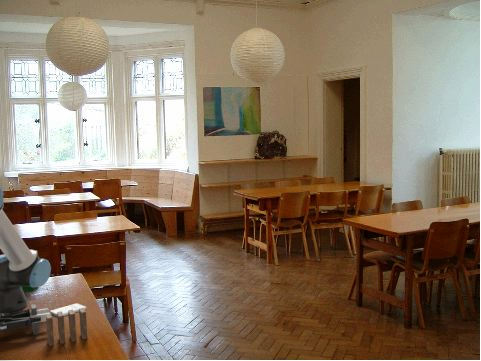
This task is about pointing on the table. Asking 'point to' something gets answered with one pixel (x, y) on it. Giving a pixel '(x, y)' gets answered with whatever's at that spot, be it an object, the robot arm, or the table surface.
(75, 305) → the external hard drive
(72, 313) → the walnut domino
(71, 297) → the table surface
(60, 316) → the walnut domino
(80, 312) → the walnut domino
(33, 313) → the black domino
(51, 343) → the walnut domino
